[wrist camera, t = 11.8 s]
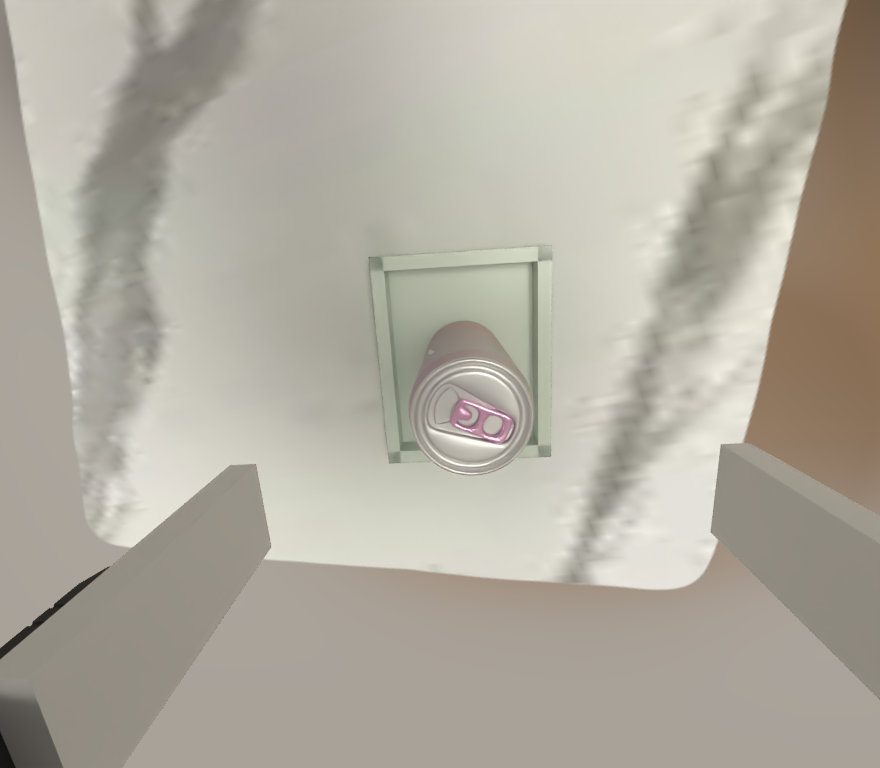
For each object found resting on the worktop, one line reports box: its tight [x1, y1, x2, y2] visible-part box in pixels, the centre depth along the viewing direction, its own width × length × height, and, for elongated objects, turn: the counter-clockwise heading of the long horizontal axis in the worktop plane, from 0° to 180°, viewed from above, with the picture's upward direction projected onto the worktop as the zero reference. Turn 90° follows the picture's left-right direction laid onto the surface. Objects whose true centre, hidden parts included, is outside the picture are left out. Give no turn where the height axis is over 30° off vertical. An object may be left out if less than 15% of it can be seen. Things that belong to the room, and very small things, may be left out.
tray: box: [369, 245, 552, 463], centre depth 32 cm, size 16×13×2 cm
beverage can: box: [409, 321, 534, 475], centre depth 26 cm, size 6×6×15 cm
